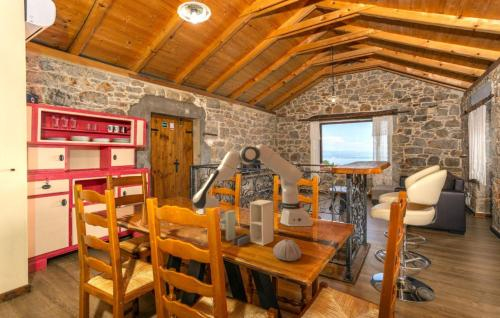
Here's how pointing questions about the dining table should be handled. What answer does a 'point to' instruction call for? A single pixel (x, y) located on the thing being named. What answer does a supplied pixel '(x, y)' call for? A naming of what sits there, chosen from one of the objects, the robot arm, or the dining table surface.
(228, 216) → the door
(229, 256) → the dining table surface
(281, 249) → the sea urchin shell
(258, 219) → the cabinet
